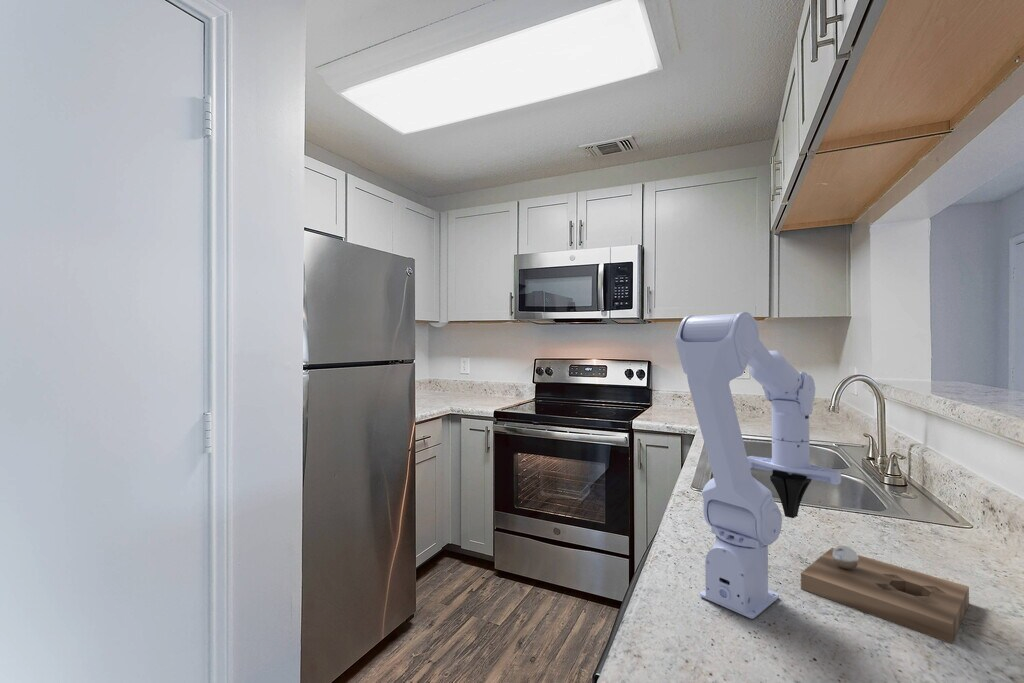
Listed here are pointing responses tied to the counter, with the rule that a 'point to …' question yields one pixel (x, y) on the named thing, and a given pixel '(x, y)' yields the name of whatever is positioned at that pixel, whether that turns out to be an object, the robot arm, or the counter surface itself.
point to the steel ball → (845, 557)
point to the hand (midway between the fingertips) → (791, 516)
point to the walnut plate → (891, 594)
